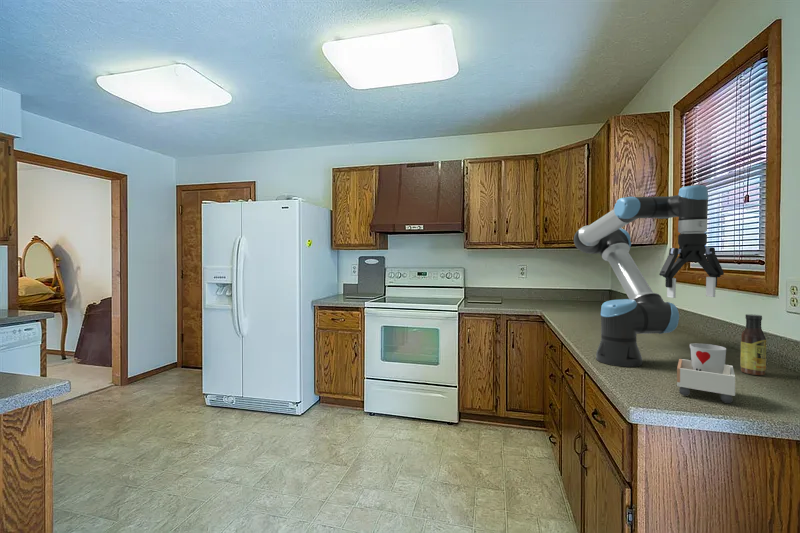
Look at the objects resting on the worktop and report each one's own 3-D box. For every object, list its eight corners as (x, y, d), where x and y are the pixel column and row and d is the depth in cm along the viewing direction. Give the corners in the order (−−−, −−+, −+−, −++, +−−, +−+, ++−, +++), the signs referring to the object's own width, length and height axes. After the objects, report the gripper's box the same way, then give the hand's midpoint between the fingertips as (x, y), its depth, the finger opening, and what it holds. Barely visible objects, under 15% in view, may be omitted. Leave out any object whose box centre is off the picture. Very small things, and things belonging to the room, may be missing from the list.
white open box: (676, 394, 106) (677, 368, 106) (679, 382, 115) (679, 358, 115) (735, 404, 98) (735, 376, 98) (732, 391, 108) (732, 365, 107)
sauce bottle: (761, 377, 120) (761, 317, 119) (736, 372, 125) (737, 314, 125) (769, 374, 123) (770, 315, 122) (745, 369, 128) (745, 312, 128)
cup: (682, 376, 110) (682, 343, 110) (707, 375, 111) (707, 342, 110) (706, 386, 102) (707, 350, 102) (734, 385, 103) (734, 349, 102)
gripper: (664, 233, 117) (663, 299, 118) (739, 232, 118) (737, 297, 119) (647, 234, 125) (646, 296, 126) (718, 233, 126) (716, 294, 127)
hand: (690, 297), depth 122 cm, fingers open, 13 cm apart
